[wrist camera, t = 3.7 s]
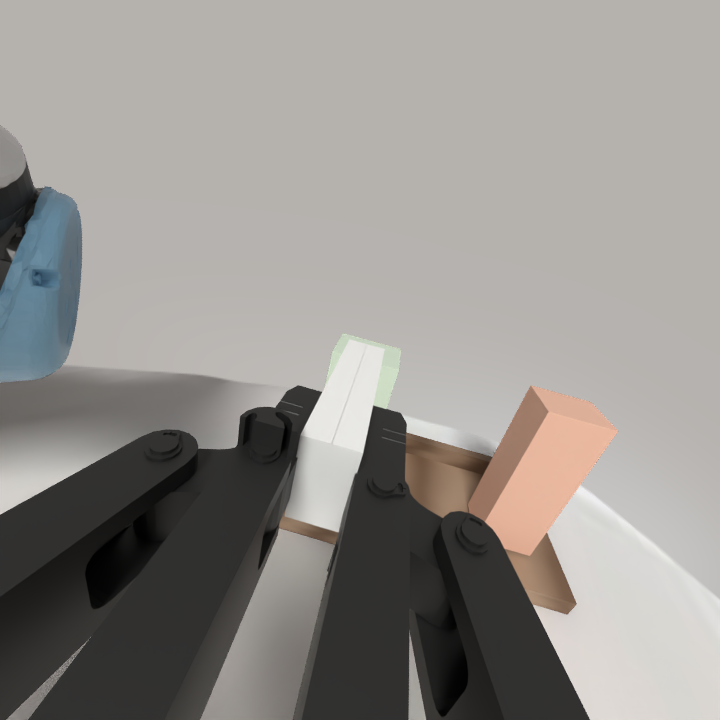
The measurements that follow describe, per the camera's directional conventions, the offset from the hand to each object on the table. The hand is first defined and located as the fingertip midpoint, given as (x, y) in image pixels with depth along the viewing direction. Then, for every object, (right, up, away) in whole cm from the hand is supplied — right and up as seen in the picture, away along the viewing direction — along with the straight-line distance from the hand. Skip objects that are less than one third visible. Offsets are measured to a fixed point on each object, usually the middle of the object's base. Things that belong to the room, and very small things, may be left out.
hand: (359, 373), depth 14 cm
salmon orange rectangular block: (+13, -15, +17) cm, 26 cm away
